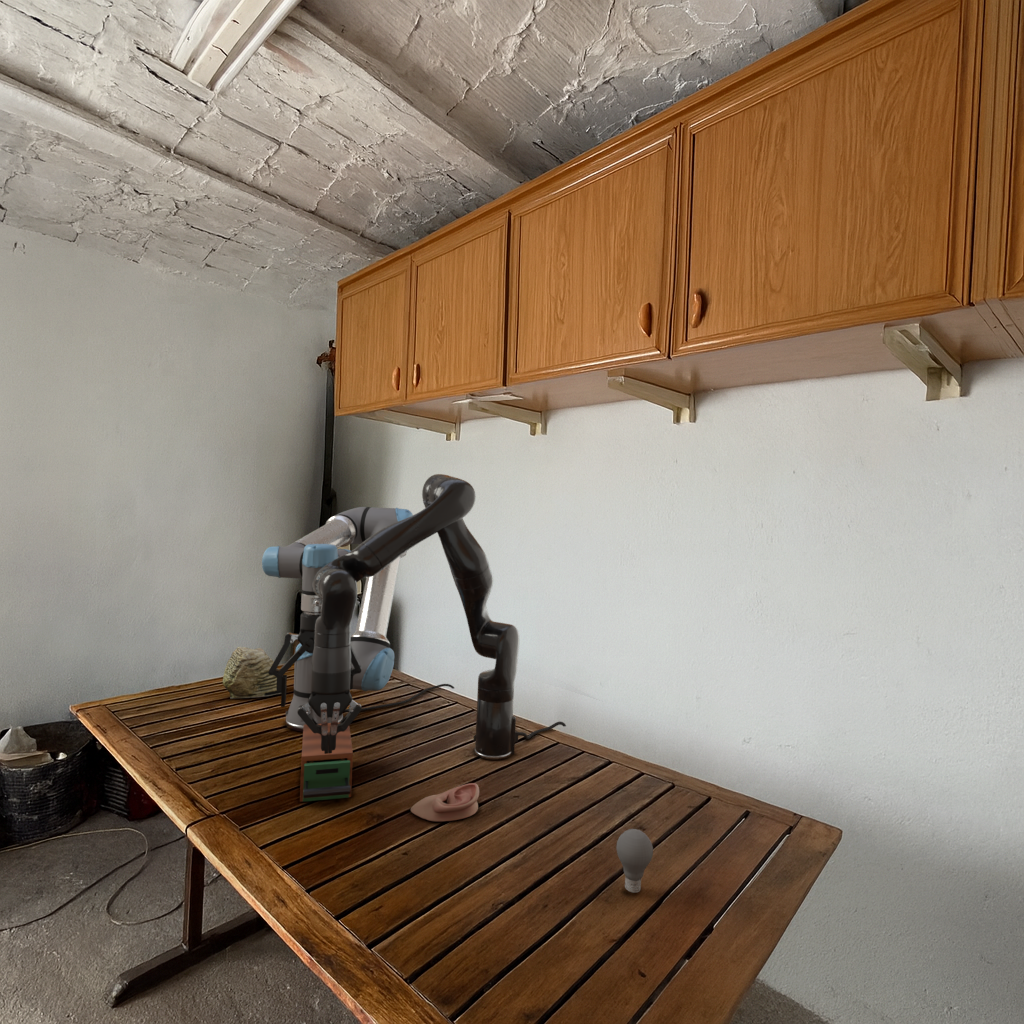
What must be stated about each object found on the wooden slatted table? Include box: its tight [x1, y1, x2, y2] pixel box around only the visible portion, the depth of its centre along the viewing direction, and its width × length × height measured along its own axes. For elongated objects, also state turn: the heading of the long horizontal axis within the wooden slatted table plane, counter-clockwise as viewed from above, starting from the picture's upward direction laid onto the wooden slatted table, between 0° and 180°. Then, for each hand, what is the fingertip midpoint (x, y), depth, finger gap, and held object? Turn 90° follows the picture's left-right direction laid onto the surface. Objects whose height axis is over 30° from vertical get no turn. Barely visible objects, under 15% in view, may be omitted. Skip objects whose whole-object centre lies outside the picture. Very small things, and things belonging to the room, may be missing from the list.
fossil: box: [222, 646, 288, 699], centre depth 198 cm, size 9×18×15 cm, turn 132°
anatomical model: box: [410, 782, 480, 822], centre depth 131 cm, size 13×4×12 cm
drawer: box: [303, 758, 350, 803], centre depth 136 cm, size 23×9×7 cm, turn 17°
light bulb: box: [615, 828, 654, 894], centre depth 106 cm, size 6×6×10 cm
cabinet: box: [299, 723, 354, 803], centre depth 142 cm, size 19×10×10 cm, turn 17°
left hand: (314, 704), depth 145 cm, fingers open, 13 cm apart
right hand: (328, 752), depth 128 cm, fingers closed
